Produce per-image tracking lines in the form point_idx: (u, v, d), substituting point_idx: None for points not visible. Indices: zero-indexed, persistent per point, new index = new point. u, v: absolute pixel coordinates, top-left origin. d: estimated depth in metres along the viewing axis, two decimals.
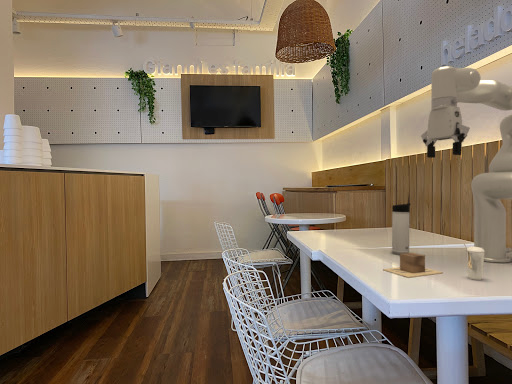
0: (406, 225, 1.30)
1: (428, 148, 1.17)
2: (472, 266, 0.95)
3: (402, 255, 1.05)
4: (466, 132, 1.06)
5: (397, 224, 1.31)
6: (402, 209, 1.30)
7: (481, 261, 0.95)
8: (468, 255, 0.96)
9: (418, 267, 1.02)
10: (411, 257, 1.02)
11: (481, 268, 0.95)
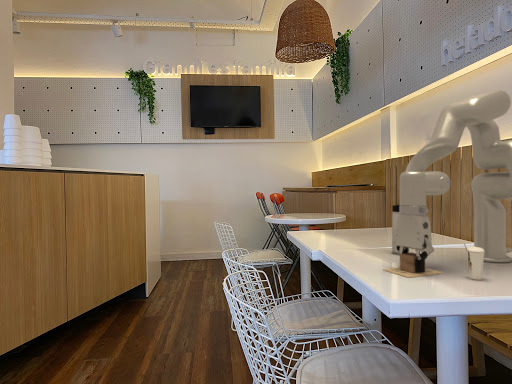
0: None
1: None
2: (472, 266, 0.95)
3: (402, 255, 1.05)
4: (429, 253, 0.99)
5: None
6: None
7: (481, 261, 0.95)
8: (468, 255, 0.96)
9: None
10: (411, 257, 1.02)
11: (481, 268, 0.95)
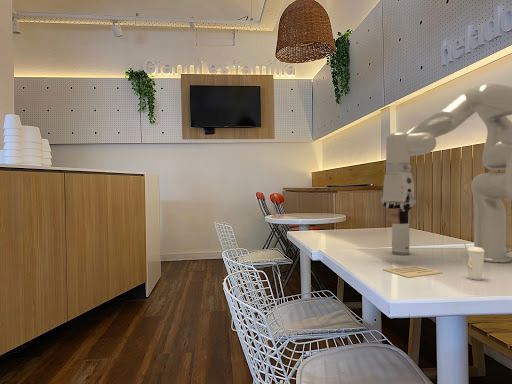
0: (406, 225, 1.30)
1: None
2: (472, 266, 0.95)
3: (388, 209, 1.15)
4: (412, 205, 1.09)
5: (397, 224, 1.31)
6: None
7: (481, 261, 0.95)
8: (468, 255, 0.96)
9: None
10: (396, 210, 1.12)
11: (481, 268, 0.95)
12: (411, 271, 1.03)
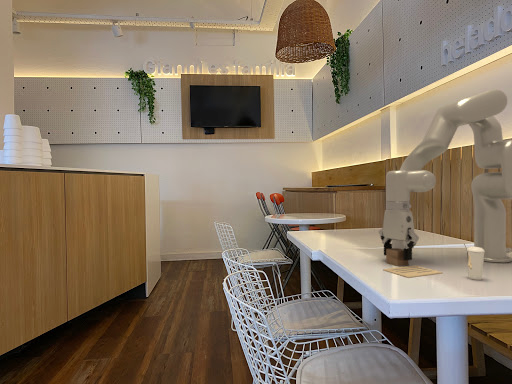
0: None
1: (384, 247, 1.19)
2: (472, 266, 0.95)
3: (388, 250, 1.16)
4: (415, 241, 1.08)
5: None
6: None
7: (481, 261, 0.95)
8: (468, 255, 0.96)
9: (402, 261, 1.13)
10: (396, 252, 1.12)
11: (481, 268, 0.95)
12: (411, 271, 1.03)
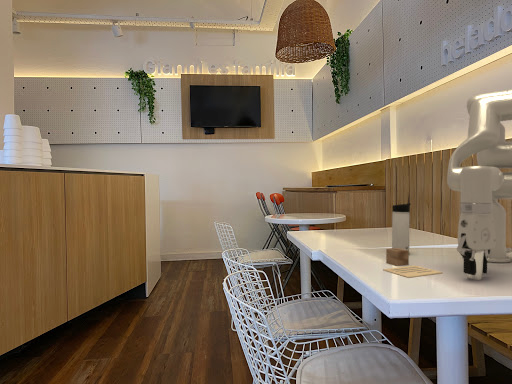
0: (406, 225, 1.30)
1: None
2: None
3: (388, 250, 1.16)
4: (461, 253, 0.94)
5: (397, 224, 1.31)
6: (402, 209, 1.30)
7: (481, 261, 0.94)
8: None
9: (402, 261, 1.13)
10: (396, 252, 1.12)
11: (481, 268, 0.95)
12: (411, 271, 1.03)
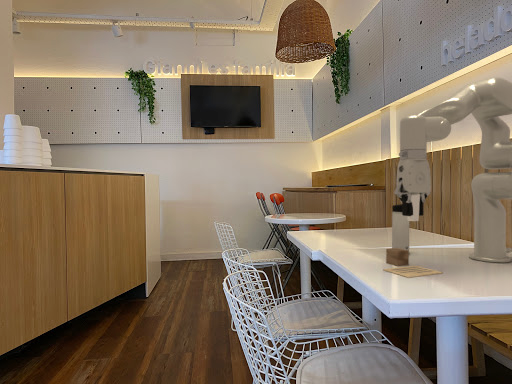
0: (406, 225, 1.30)
1: None
2: None
3: (388, 250, 1.16)
4: (398, 195, 1.02)
5: (397, 224, 1.31)
6: None
7: (417, 203, 1.02)
8: None
9: (402, 261, 1.13)
10: (396, 252, 1.12)
11: (417, 210, 1.03)
12: (411, 271, 1.03)
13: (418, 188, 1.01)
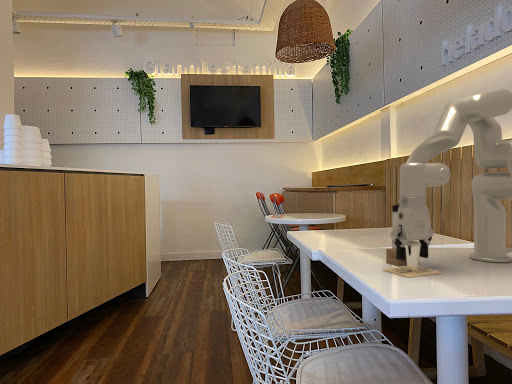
0: None
1: None
2: (409, 258, 1.04)
3: (388, 250, 1.16)
4: (392, 238, 1.01)
5: None
6: None
7: (417, 254, 1.03)
8: (406, 249, 1.04)
9: (402, 261, 1.13)
10: None
11: (417, 260, 1.03)
12: (411, 271, 1.03)
13: (418, 235, 1.01)
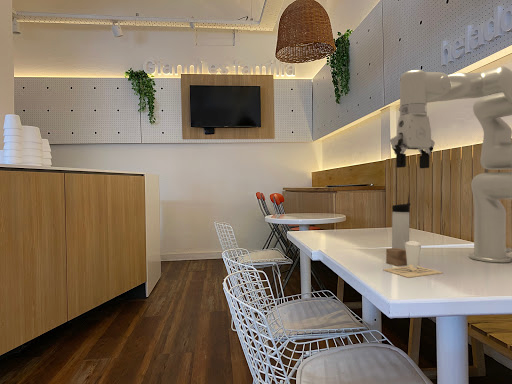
0: (406, 225, 1.30)
1: None
2: (409, 258, 1.04)
3: (388, 250, 1.16)
4: (392, 144, 1.01)
5: (397, 224, 1.31)
6: (401, 209, 1.30)
7: (417, 254, 1.03)
8: (406, 249, 1.04)
9: (402, 261, 1.13)
10: (396, 252, 1.12)
11: (417, 260, 1.03)
12: (411, 271, 1.03)
13: (418, 143, 1.01)
